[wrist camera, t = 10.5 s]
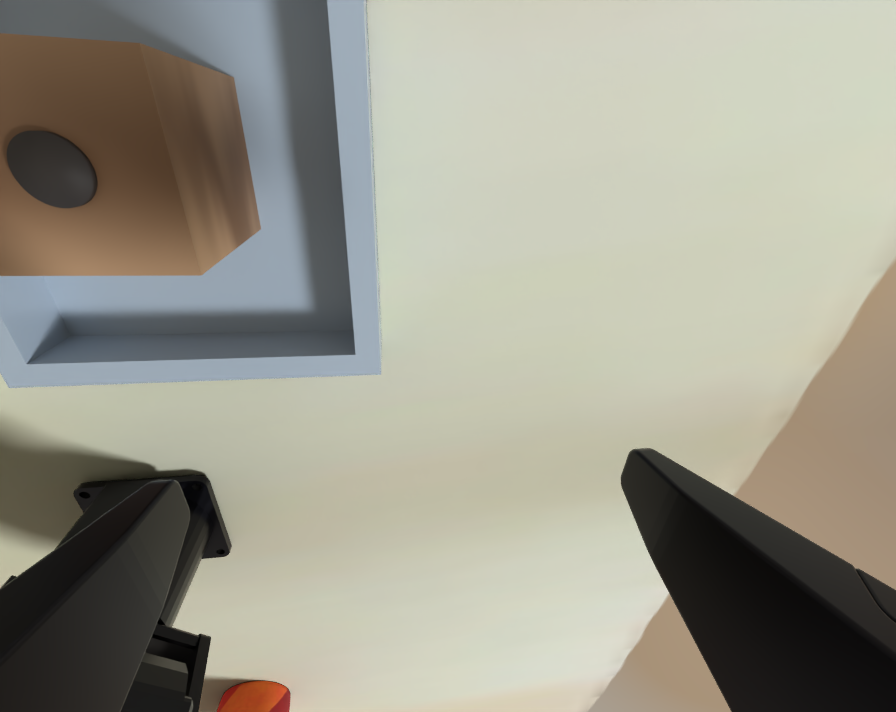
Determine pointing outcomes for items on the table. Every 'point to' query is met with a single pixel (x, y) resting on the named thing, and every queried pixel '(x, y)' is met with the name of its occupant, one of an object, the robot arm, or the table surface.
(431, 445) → the table surface
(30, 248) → the walnut block
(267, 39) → the tray
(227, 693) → the paper cup
